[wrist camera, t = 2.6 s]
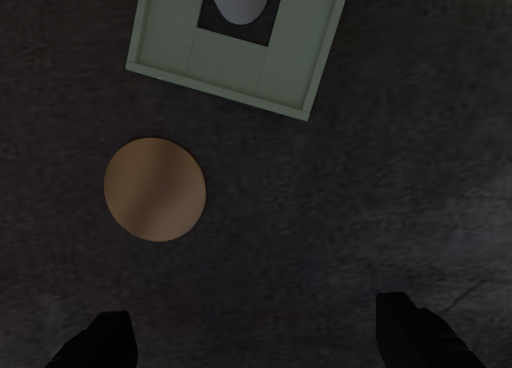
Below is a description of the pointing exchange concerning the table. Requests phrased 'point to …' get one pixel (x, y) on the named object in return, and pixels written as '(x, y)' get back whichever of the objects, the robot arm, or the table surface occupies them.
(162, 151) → the coaster
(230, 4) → the beverage can
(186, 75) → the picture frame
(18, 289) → the table surface
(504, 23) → the table surface
